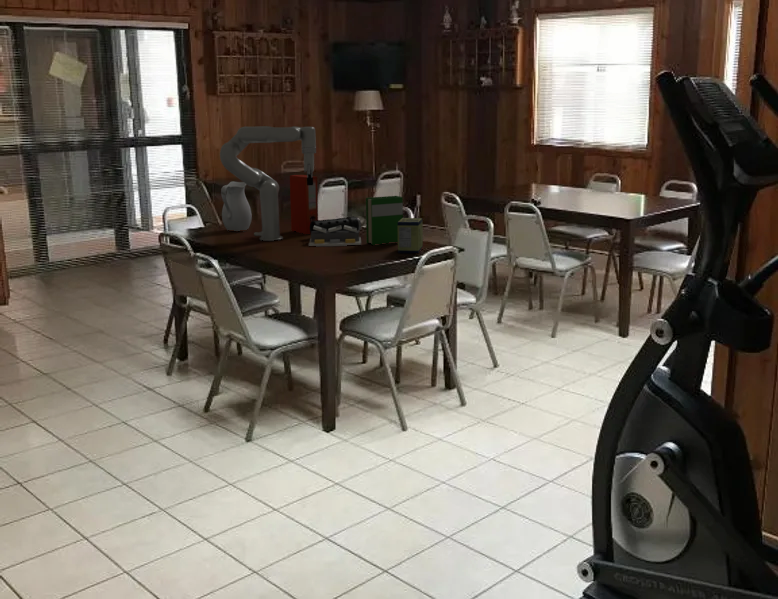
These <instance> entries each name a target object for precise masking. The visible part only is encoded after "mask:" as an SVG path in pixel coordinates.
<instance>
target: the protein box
mask: <svg viewBox="0 0 778 599" xmlns="http://www.w3.org/2000/svg"><path fill="white" fill-rule="evenodd" d="M423 231H424V230H423V218H422V217H403V218H402V219H401V220H400V221H398V243H397V254H412V253H418V254H419V253H420V252H421V251H422V250H421V248H422V247H423V242H424V241H423V239H424V238H423V234H424V233H423ZM423 248H424V247H423ZM420 250H421V251H420ZM419 251H420V252H419Z"/></svg>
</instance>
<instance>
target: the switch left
mask: <svg viewBox="0 0 778 599" xmlns="http://www.w3.org/2000/svg"><path fill="white" fill-rule="evenodd" d="M313 229H314V230H318V231H321V232H324V233H326V229H325V228H321V227H318V226H315V225H314V227H313Z"/></svg>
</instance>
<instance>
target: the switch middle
mask: <svg viewBox="0 0 778 599" xmlns="http://www.w3.org/2000/svg"><path fill="white" fill-rule="evenodd" d="M340 229H342V227H341V225H340V226H336V227H333V228H329V229H328V231H329V232H333V231H336V230H340Z"/></svg>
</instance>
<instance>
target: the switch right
mask: <svg viewBox="0 0 778 599" xmlns="http://www.w3.org/2000/svg"><path fill="white" fill-rule="evenodd" d="M344 229H346V230H350V231H354V232H356V231H357V228H354V227H350V226H346V225H344Z"/></svg>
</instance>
